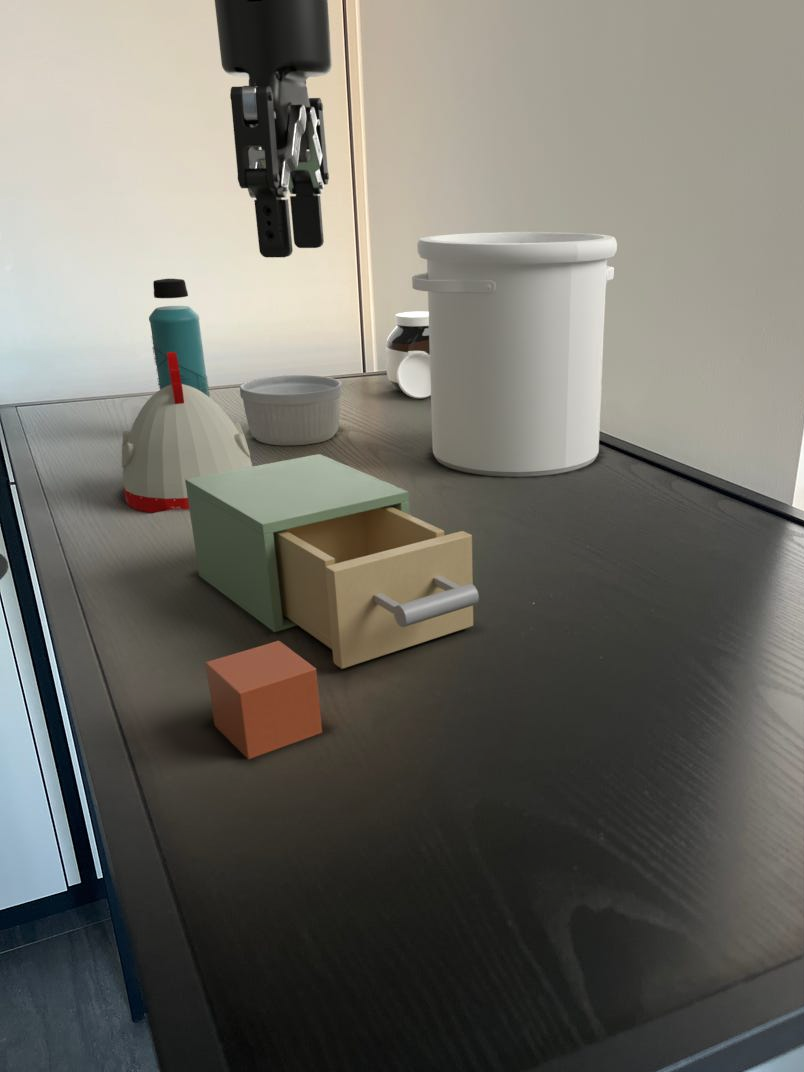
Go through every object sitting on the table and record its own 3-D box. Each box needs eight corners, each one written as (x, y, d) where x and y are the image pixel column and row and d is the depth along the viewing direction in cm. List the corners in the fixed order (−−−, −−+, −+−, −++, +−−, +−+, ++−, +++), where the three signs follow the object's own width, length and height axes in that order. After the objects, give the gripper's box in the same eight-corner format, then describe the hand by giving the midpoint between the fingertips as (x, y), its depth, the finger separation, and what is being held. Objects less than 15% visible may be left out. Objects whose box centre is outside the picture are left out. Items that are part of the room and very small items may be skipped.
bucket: (546, 426, 134) (550, 228, 123) (655, 462, 117) (671, 237, 106) (380, 453, 122) (369, 237, 111) (475, 498, 105) (472, 248, 94)
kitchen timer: (248, 471, 115) (233, 340, 108) (263, 505, 103) (247, 360, 97) (125, 483, 111) (101, 348, 105) (126, 520, 99) (99, 370, 93)
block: (249, 766, 58) (239, 693, 56) (215, 732, 62) (204, 662, 59) (323, 739, 61) (316, 668, 58) (286, 707, 64) (279, 640, 62)
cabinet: (413, 597, 81) (408, 491, 77) (275, 638, 74) (262, 524, 70) (327, 549, 91) (319, 453, 87) (199, 580, 84) (184, 479, 80)
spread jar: (431, 382, 162) (429, 309, 157) (472, 392, 154) (471, 316, 149) (370, 391, 156) (366, 315, 151) (410, 403, 148) (407, 323, 143)
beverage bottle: (209, 428, 135) (188, 275, 126) (221, 438, 129) (201, 279, 121) (161, 434, 132) (136, 277, 123) (172, 445, 127) (147, 282, 118)
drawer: (509, 646, 70) (509, 551, 67) (374, 693, 64) (367, 591, 61) (379, 573, 83) (374, 491, 80) (256, 607, 77) (245, 519, 74)
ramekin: (351, 424, 136) (348, 373, 133) (337, 449, 124) (333, 394, 121) (257, 424, 136) (252, 374, 133) (234, 449, 124) (227, 394, 121)
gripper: (251, 11, 72) (274, 245, 79) (175, -23, 59) (210, 260, 67) (350, 7, 71) (364, 245, 78) (295, -27, 59) (317, 260, 66)
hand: (293, 252), depth 72 cm, fingers open, 8 cm apart
